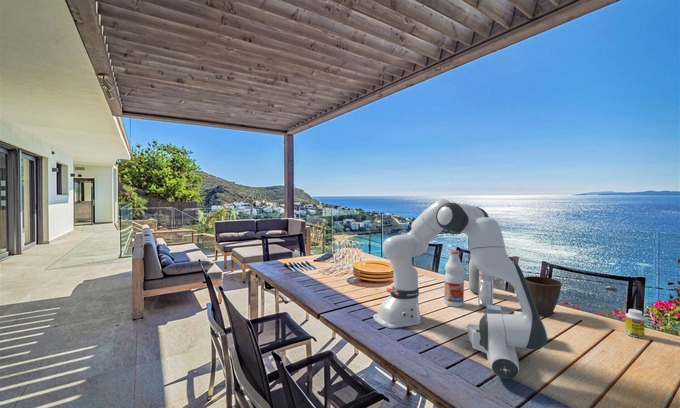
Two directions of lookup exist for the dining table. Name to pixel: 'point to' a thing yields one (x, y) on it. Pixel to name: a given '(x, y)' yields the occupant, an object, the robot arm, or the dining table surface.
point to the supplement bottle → (634, 323)
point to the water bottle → (485, 289)
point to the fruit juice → (454, 281)
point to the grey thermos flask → (473, 278)
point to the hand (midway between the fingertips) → (495, 327)
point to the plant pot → (544, 293)
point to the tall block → (493, 309)
